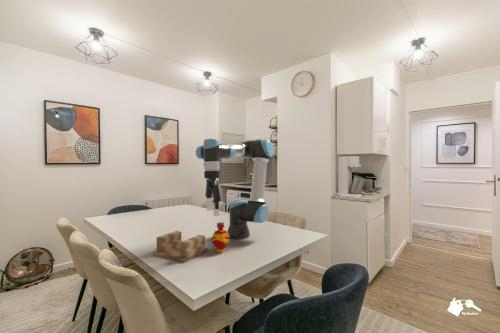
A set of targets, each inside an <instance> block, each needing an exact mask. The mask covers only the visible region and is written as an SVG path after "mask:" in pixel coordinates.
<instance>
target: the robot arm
mask: <svg viewBox="0 0 500 333" xmlns="http://www.w3.org/2000/svg"><path fill="white" fill-rule="evenodd" d="M274 152H275V150H274V145H273V143H272V142H271V140H269V139H257V140H256V139H255V140H247V141H243V142H237V143H235V144H234V143H233V144H228V143H220V140H219V139H217V138H206V139H204V140H203V145H199V146H198V147H196V149H195V156H196V157H197V159H199V160H203V164H202V165H203V169H204V172H203V173H204V174H203V176H204V177H203V178H204V179H206V183H205V184H206V187H205V197H206V198H205V199H206V212H211V211H213V212H212V213H213V215H212V216H213V217H218V216H220V202H221V201H222V200H221V194H220V193H221V192H220V188H219V187H220V186H219V180H217V179H219V178H220V174H221V173H220V168H221V166H220V159H232V158H233V157H237V158H250V159H252V161H253V170H252V180H251V188H250V190H251V191H250V198H249V199H248V200H237V201H236V200H235V201H231V202H229V210H228V212H229V225H228V229H227V232H228V233H229V239H236V240H240V239H241V240H242V239H247V238H249V237H250V236H251V235H250V234H251V233H250V229H249V226H248V223H249V222H250V223H255V224H262V223H264V222H266V220H267V219H268V217H269V212H270V209H269V206H268V205H267V202H266V201H265V200H266V199H265V191H266V190H265V188H266V178H267V169H268V168H267V166H268V165H267V164H268V163H269V161H270V159H271V158H272V157H273V156H274V155H275V153H274Z"/></svg>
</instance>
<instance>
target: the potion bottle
mask: <svg viewBox="0 0 500 333" xmlns="http://www.w3.org/2000/svg"><path fill="white" fill-rule="evenodd" d="M216 228H217V230H215V231H214V233H213V234H212V237H211V242H212V245H213V246H214V247H215V248H216V250H215V251H216V252H217V253H223V252H225V251H226V247H227V246H228V245H229V243H230V239H231V238H229V233H228V230H225V229H224V228H225V222H223V221H221V222H217V223H216Z"/></svg>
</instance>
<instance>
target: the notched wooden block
mask: <svg viewBox="0 0 500 333" xmlns="http://www.w3.org/2000/svg"><path fill="white" fill-rule="evenodd" d="M208 251H209V249H208V247H206V236H205V235H201V234H198V235H196V236H193V237H190V238H188V239H185V240H182V231H179V230H175V231H173V232H169V233H166V234H162V235H160V236H157V237H156V250H155V251H152V252H153V253H152V254H153V256H156V257H160V258H164V259H167V260H168V259H169V260H172V261H176V262H180V263H184V264H185V263H186V262H188V261H190V260H192V259H195V258H196V257H199V256H200V255H202V254H204V253H206V252H208Z"/></svg>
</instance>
